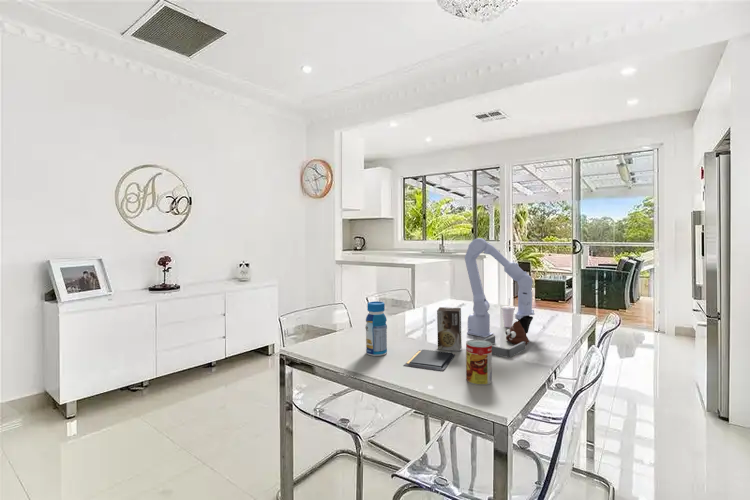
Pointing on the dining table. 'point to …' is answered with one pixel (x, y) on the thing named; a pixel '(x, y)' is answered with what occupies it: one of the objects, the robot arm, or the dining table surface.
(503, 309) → the smoothie
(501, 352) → the box
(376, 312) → the beverage bottle
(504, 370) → the dining table surface
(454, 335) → the coffee box
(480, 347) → the canned food
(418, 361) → the dark gray flat slab
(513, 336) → the poop emoji
